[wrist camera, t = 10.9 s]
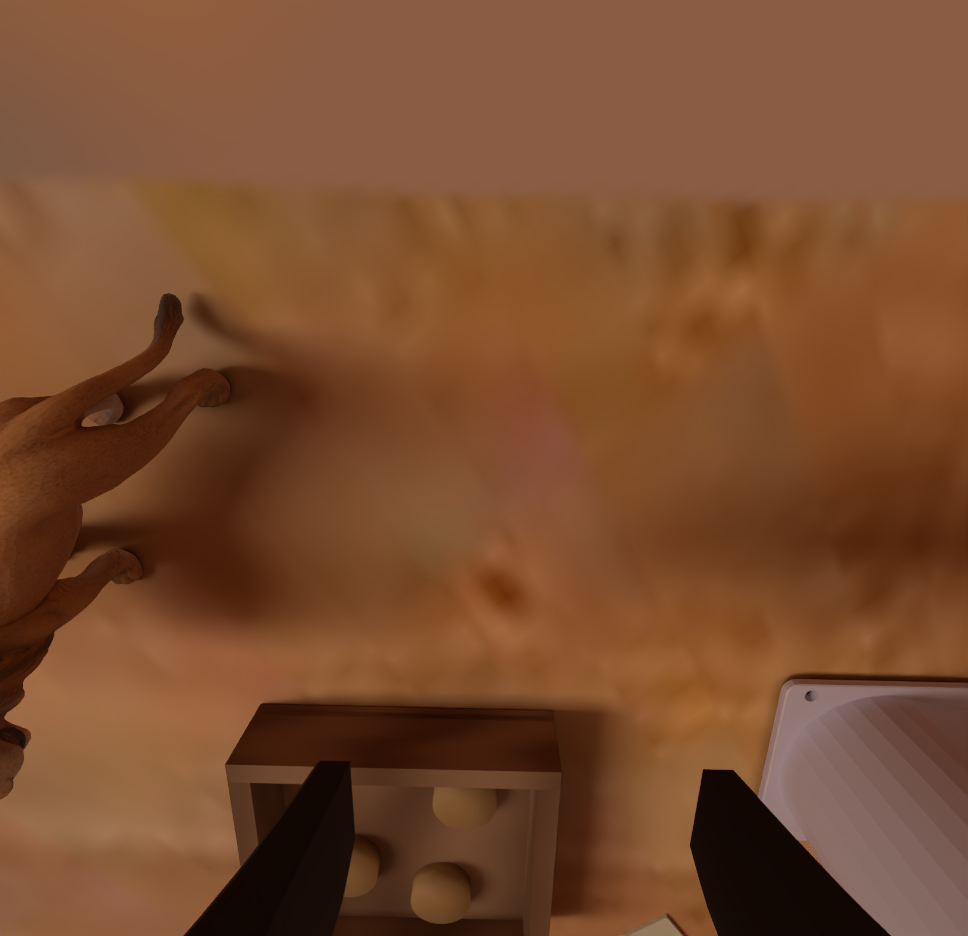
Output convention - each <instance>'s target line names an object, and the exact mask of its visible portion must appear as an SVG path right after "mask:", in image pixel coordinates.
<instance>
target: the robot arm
mask: <svg viewBox="0 0 968 936" xmlns="http://www.w3.org/2000/svg"><path fill="white" fill-rule="evenodd" d="M809 691H811V692H810V693H809V694H806V693H807V692H809ZM798 840H804V841H808V842H809V844H810V846H811V847H812V849H813V851H814V852H815V854H816V855H817V857H818V859H819V860H820V862H821V864H822V865H823V867H824V868H823V867H822V866H821V865H820V864H819V863H818V862H817V861H816V860H815V858H814V857H813V856H812V855H811V854H810V853H809V852H808V851H807V850H806V849H805V848H804V847H803V846H802V845H801V844H800V843H799V841H798ZM354 842H355V825H354V810H353V796H352V781H351V766H350V761H319V762H318V763H317V764H316V765H315V766H314V768H313V769H312V771H311V772H310V774H309V775H308V777H307V778H306V780H305V781H304V783H303V784H302V785H301V787H300V788H299V790H298V791H297V793H296V794H295V796H294V797H293V798H292V800H291V801H290V803H289V804H288V806H287V807H286V808H285V810H284V811H283V812H282V814H281V815H280V817H279V818H278V819H277V821H276V822H275V823H274V825H273V826H272V827H271V829H270V830H269V831H268V833H267V834H266V835H265V837H264V838H263V839H262V841H261V842H260V843H259V844H258V846H257V847H256V848H255V850H254V851H253V852H252V854H251V855H250V856H249V858H248V859H247V860H246V861H245V863H244V864H243V865H242V867H241V868H240V869H239V870H238V872H237V873H236V874H235V875H234V877H233V878H232V879H231V880H230V881H229V883H228V884H227V885H226V886H225V887H224V889H223V890H222V891H221V892H220V893H219V895H218V896H217V897H216V898H215V899H214V901H213V902H212V903H211V904H210V905H209V907H208V908H207V909H206V910H205V911H204V913H203V914H202V915H201V916H200V917H199V919H198V920H197V921H196V922H195V923H194V924H193V925H192V927H191V928H190V929H189V930H188V931H187V932H186V933H185V935H184V936H332V935H333V932H334V928H335V925H336V922H337V918H338V915H339V911H340V908H341V904H342V901H343V897H344V892H345V887H346V882H347V877H348V873H349V867H350V862H351V857H352V852H353V847H354ZM690 848H691V851H692V855H693V859H694V862H695V866H696V870H697V873H698V877H699V880H700V884H701V887H702V890H703V894H704V897H705V901H706V904H707V907H708V910H709V913H710V915H711V918H712V921H713V923H714V926H715V928H716V931H717V934H718V936H968V683H953V682H909V681H865V680H820V679H792V680H789V681H787V682H786V683H785V684H784V685H783V686H782V689H781V692H780V697H779V702H778V706H777V711H776V715H775V720H774V725H773V729H772V734H771V738H770V743H769V748H768V752H767V757H766V761H765V766H764V771H763V775H762V780H761V784H760V789H759V794H758V797H757V795H756V794H755V793H754V792H753V791H752V790H751V789H750V788H749V787H748V786H747V784H746V783H745V782H744V781H743V780H742V779H741V778H740V777H739V776H738V775H737V774H736V772H735V771H734V770H709V769H703V773H702V779H701V785H700V791H699V796H698V802H697V808H696V813H695V819H694V825H693V830H692V836H691V842H690Z"/></svg>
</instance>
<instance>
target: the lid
mask: <svg viewBox="0 0 968 936" xmlns="http://www.w3.org/2000/svg"><path fill="white" fill-rule="evenodd" d="M619 936H684V934H683V933H682V932H681V931H680V930H679V929H678V928H677V926H676V925H675V924H674V923H673V922H672V921H671V919H670V918H669V917H668V916H667V915H666V914H664V915H662V916H660V917H658V918H655V919H653V920H651V921H649V922H647V923H645V924H643V925H641V926H638V927H636V928H634V929H632V930H630V931H628V932H626V933H624V934H621V935H619Z"/></svg>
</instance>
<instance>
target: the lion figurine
mask: <svg viewBox="0 0 968 936" xmlns="http://www.w3.org/2000/svg"><path fill="white" fill-rule="evenodd" d="M183 320H184V318H183V315H182V308H181V303H180V301H179V299H178V298H177V297H176V296H175V295H173V294H170V293H168V294H164V295H163V296H162V297H161V301H160V304H159V311H158V315H157V316H156V318H155V321H154V331H155V332H154V338H153V341H152V343H151V344H150V346H149V347H148V348H147V349H146V350H145V351H144V352H143V353H141V354H139V355H138V356H136V357H134V358H132V359H131V360H129V361H127V362H125V363H124V364H122V365H120V366H118V367H115V368H113V369H111V370H109V371H107V372H105V373H103V374H100V375H98V376H95V377H92V378H90V379H88V380H86V381H84V382H82V383H79V384H77V385H75V386H73V387H71V388H69V389H67V390H65V391H64V392H62V393H59V394H57V395H54V396H45V397H34V398H26V397H18V398H11V399H8V400H5V401H3V402H1V403H0V799H2V798H4V797H6V796H7V795H8V794H9V793H10V791H11V790H12V788H13V779H14V777H15V776H16V775H17V773H18V772H19V770H20V769H21V766H22V764H23V761H24V753H23V750H24V749H25V747H26V746H27V744H28V742H29V741H30V739H31V733H30V732H29V731H28V730H27V729H25V728H22V727H20V726H16V725H14V724H12V723H10V722H8V721H6V720H5V719H4V716H5V715H6V713H7V712H9V711H10V710H11V709H13V708H14V707H16V706H17V705H18V704H19V703H20V702H21V700H22V699H23V698H24V694H25V692H24V690H23V681H24V679H25V678H26V677H27V676H28V675H29V674H31V673H32V672H33V671H34V670H35V669H36V668H37V667H38V666H39V664H40V663H41V661H42V660H43V658H44V656H45V655H46V654H47V653H48V648H49V646H50V644H51V642H52V640H53V637H54V632H55V631H56V630H57V629H59V628H60V627H61V626H63V625H64V624H66V623H67V622H69V621H70V620H72V619H73V618H74V617H75V616H76V615H78V614H79V613H80V612H81V611H82V610H84V609H85V608H86V607H87V606H88V605H89V604H90V603H91V602H92V601H93V600H94V599H95V598H96V597H97V595H98V594H99V592H100V591H101V590H102V588H103V587H104V586H105V585H106V584H107V583H108V582H109V581H111V580H112V581H113V582H114V583H115V584H130V583H132V582H134V581H135V580H137V579H139V578H141V576H142V575H143V571H142V567H141V564H140V562H139V561H138V559H137V558H136V557H135V556H134V555H133V554H131V553H129V552H127V551H124V550H122V549H114V550H111V551H109V552H107V553H105V554H103V555H101V556H99V557H98V558H96V559H95V560H94V561H92V562H91V563H90V564H89V565H88V567H87V568H86V569H85V570H84V571H83V572H82V573H81V574H80V575H78V576H76V577H69V578H65V579H59V580H57V578H58V577H59V575H60V573H61V572H62V570H63V568H64V567H65V565H66V563H67V561H68V559H69V557H70V555H71V553H72V551H73V548H74V546H75V543H76V540H77V537H78V534H79V531H80V527H81V524H82V516H83V509H82V505H81V504H82V503H85V502H87V501H89V500H91V499H93V498H95V497H97V496H99V495H101V494H103V493H105V492H107V491H109V490H111V489H113V488H115V487H116V486H118V485H119V484H121V483H122V482H123V481H125V480H126V479H127V478H129V477H130V476H131V475H133V474H134V473H136V472H137V471H139V470H140V469H142V468H143V467H144V466H145V465H146V464H147V463H149V462H150V461H151V460H152V459H153V458H154V457H155V456H156V455H157V454H158V453H159V452H160V451H161V450H162V449H163V448H164V447H165V446H166V445H167V443H168V442H169V441H170V440H171V438H172V437H173V436H174V434H175V433H176V431H177V430H178V428H179V427H180V426H181V424H182V423H183V421H184V420H185V419H186V417H187V416H188V415H189V414H190V413H191V411H192V410H193V409H194V408H195V407H196V406H197V404H198V405H199V406H200V407H216V406H218V405H221V404H224V403H225V402H226V401H227V400H228V398H229V395H230V385H229V383H228V381H227V380H226V379H225V378H224V376H222V375H221V374H219V373H218V372H215V371H213V370H211V369H205V368H203V369H200V370H198V371H196V372H194V373H192V374H191V375H189V376H187V377H185V378H183V379H182V380H180V381H179V382H178V383H177V384H176V385H175V386H174V387H172V389H171V390H170V392H169V393H168V395H167V396H166V398H165V400H164V401H163V402H161V403H160V404H159V405H157V406H156V407H155V408H153V409H152V410H150V411H148V412H147V413H145V414H144V415H141V416H139V417H137V418H136V419H134V420H132V421H130V422H128V423H126V424H122V425H118V424H113V423H114V422H116V421H118V420H119V418H120V417H121V415H122V413H123V409H124V406H123V404H122V402H121V400H120V398H119V396H118V395H117V394H116V393H117V392H119V391H121V390H123V389H125V388H126V387H128V386H129V385H131V384H132V383H134V382H135V381H137V380H139V379H140V378H141V377H143V376H144V375H145V374H147V373H149V372H150V371H152V370H153V369H154V368H155V367H156V366H157V365H158V364H159V363H160V362H161V361H162V360H163V359H164V358H165V357H166V355H167V354H168V353H169V351H170V348H171V346H172V342H173V339H174V337H175V335H176V333H177V331H178V329H179V327H180V325H181V324H182V322H183ZM86 417H88V418H89V419H90V420H92V421H93V422H96V423H97V424H99V425H101V426H93V427H83V426H81V425H82V421H83V420H84V419H85V418H86Z"/></svg>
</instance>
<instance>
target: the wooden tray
mask: <svg viewBox="0 0 968 936" xmlns="http://www.w3.org/2000/svg"><path fill="white" fill-rule="evenodd" d="M319 761H350V766H351V781H352V796H353V810H354V825H355V842H354V847H353V852H352V857H351V862H350V867H349V873H348V877H347V882H346V887H345V892H344V897H343V901H342V904H341V908H340V911H339V915H338V918H337V922H336V925H335V928H334V932H333V935H332V936H549V930H550V918H551V905H552V892H553V879H554V867H555V854H556V841H557V828H558V815H559V803H560V790H561V777H562V770H561V764H560V758H559V752H558V745H557V739H556V733H555V726H554V720H553V714H552V711H545V710H501V709H457V708H413V707H370V706H326V705H282V704H260V706H259V708H258V709H257V711H256V713H255V715H254V716H253V718H252V720H251V721H250V723H249V725H248V726H247V728H246V730H245V732H244V733H243V735H242V737H241V738H240V740H239V742H238V743H237V745H236V747H235V749H234V750H233V752H232V754H231V755H230V757H229V759H228V761H227V762H226V764H225V768H226V774H227V781H228V787H229V794H230V800H231V807H232V813H233V820H234V826H235V833H236V839H237V846H238V852H239V859H240V865H241V867H242V865H243V864H244V863H245V861H246V860H247V859H248V858H249V856H250V855H251V854H252V852H253V851H254V850H255V848H256V847H257V846H258V844H259V843H260V842H261V841H262V839H263V838H264V837H265V835H266V834H267V833H268V831H269V830H270V829H271V827H272V826H273V825H274V823H275V822H276V821H277V819H278V818H279V817H280V815H281V814H282V812H283V811H284V810H285V808H286V807H287V806H288V804H289V803H290V801H291V800H292V798H293V797H294V796H295V794H296V793H297V791H298V790H299V788H300V787H301V785H302V784H303V783H304V781H305V780H306V778H307V777H308V775H309V774H310V772H311V771H312V769H313V768H314V766H315V765H316V764H317V763H318V762H319Z"/></svg>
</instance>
